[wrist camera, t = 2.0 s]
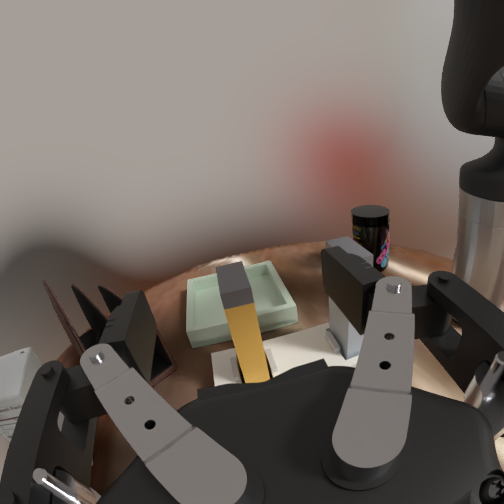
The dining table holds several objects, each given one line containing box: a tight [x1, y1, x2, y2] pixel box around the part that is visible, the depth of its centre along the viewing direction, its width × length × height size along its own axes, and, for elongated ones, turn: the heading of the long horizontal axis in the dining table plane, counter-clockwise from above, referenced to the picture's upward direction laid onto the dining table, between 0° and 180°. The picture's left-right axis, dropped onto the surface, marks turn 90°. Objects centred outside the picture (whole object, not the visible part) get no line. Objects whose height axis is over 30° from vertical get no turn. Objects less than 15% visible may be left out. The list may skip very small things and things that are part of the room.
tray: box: [186, 261, 298, 348], centre depth 44 cm, size 15×15×3 cm
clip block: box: [211, 322, 359, 386], centre depth 30 cm, size 20×8×3 cm, turn 101°
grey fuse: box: [326, 236, 373, 360], centre depth 28 cm, size 2×5×14 cm, turn 10°
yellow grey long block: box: [216, 261, 270, 383], centre depth 27 cm, size 2×5×14 cm, turn 11°
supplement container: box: [351, 205, 390, 272], centre depth 47 cm, size 7×7×10 cm
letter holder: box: [43, 280, 177, 387], centre depth 34 cm, size 10×20×14 cm, turn 50°
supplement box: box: [0, 347, 93, 465], centre depth 19 cm, size 7×7×13 cm
